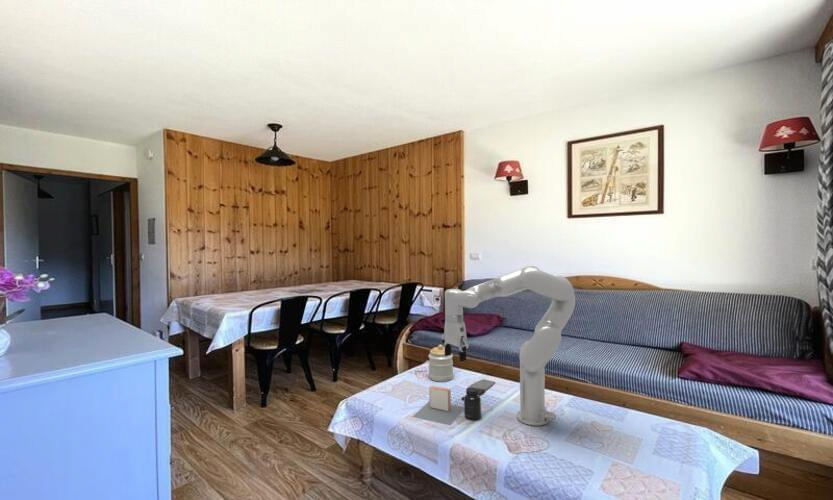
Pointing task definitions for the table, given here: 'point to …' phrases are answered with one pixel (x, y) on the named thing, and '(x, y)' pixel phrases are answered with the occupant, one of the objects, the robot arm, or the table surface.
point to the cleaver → (482, 386)
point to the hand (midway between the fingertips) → (455, 357)
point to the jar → (440, 365)
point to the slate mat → (439, 414)
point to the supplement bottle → (472, 404)
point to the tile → (440, 398)
